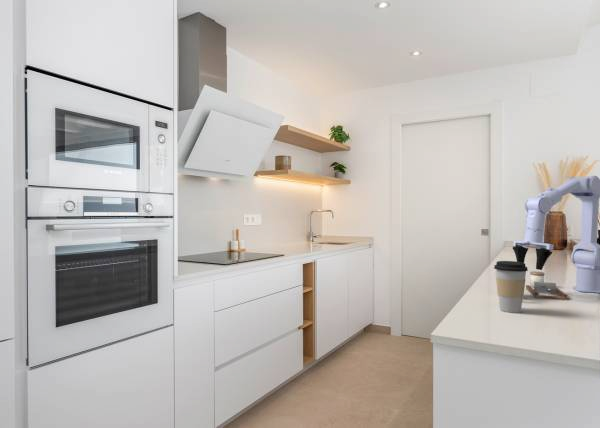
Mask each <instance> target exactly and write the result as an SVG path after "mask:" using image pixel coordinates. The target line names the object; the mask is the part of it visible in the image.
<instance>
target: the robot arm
mask: <svg viewBox="0 0 600 428" xmlns="http://www.w3.org/2000/svg"><path fill="white" fill-rule="evenodd" d="M568 194H571V195H572V196H574V197H575V198H577V199H579V200H580V201H581V219H580V222H581V223H580V235H579V236H580V237H579V238H580V241H579V242H578V243H576V244H575V245H573V250H572V252H571V255H570V258H571V262H572V264H573V265H574V267H576V277H575V278H576V282H575V283H576V284H575V285H576V286H572V289H574V290H576V291H578V292H582V293H596V294H600V244H599V243H598V242H597V241H598V226H599V210H600V209H599V207H600V178H599V176H597V175H591V176H590V175H589V176H571V177H568V178H566V179H565V181H564V183H562V184H561V185H559V186H557V187H556V188H555V187H548V188H546V191H543V192H541V193H538V194H537V196H535V197H534V196H532V197H529V198H528V199H527V200H526V202H525V203H524V209H525V216H526V221H525V222H526V223H525V231H524V236H523V237H524V238H523V240H513V243H512V250H513V252H514V254H515V259H516V262H522V263H525V258H526V255H527V253H528V250H529V248H531V249H535V253H536V261H535V262H536V263H535V264H536V265H535V269H536V270H540V271H542V270H543V268H544V267H545V265H546V262H547V260H548V259H549V257H550V256H551V255H552V254H553V251H554V246H555V245H554V244H551V243H544V242H543V240H544V231H545V226H546V217H547V213H548V214H549V213H550V211H551V210H552V207H554V206H555V205H557V204H558V203H560V202H561V201H562V200H563V197H564V196H567V195H568Z"/></svg>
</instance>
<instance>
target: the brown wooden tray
mask: <svg viewBox="0 0 600 428" xmlns="http://www.w3.org/2000/svg"><path fill="white" fill-rule="evenodd" d="M525 290H527V292H529V294H531V295H532V296H533V297H534V298H535V299H547V300H561V301H569V299H570V298H569V296H568V294H567V293H565V292H564V291H562V290H561V289H559V288H557V287H556V294H555V295H544V294H543V295H542V294H539V293H538V292H536V291H535V290H534V288H531V287H530V284H525ZM557 295H558V296H557Z"/></svg>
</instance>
